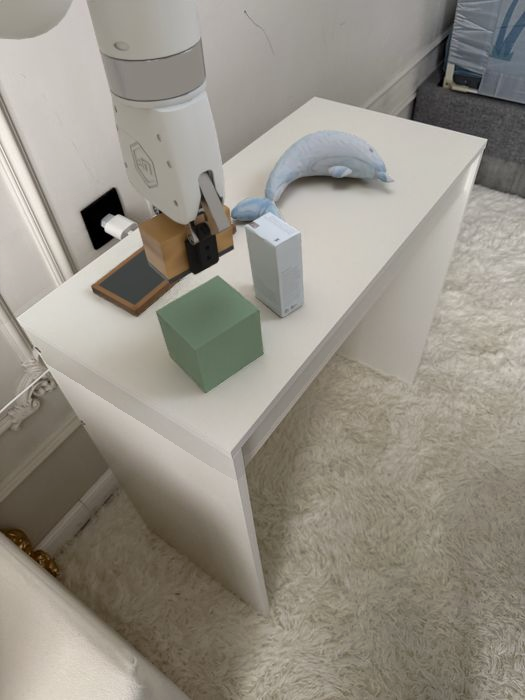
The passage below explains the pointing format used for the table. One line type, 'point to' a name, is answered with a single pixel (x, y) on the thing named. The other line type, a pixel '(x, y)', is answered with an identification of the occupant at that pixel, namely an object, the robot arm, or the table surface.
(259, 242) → the cosmetic box
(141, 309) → the chalkboard
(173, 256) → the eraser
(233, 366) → the sage green box
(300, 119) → the table surface
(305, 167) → the sculpture
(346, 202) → the table surface
